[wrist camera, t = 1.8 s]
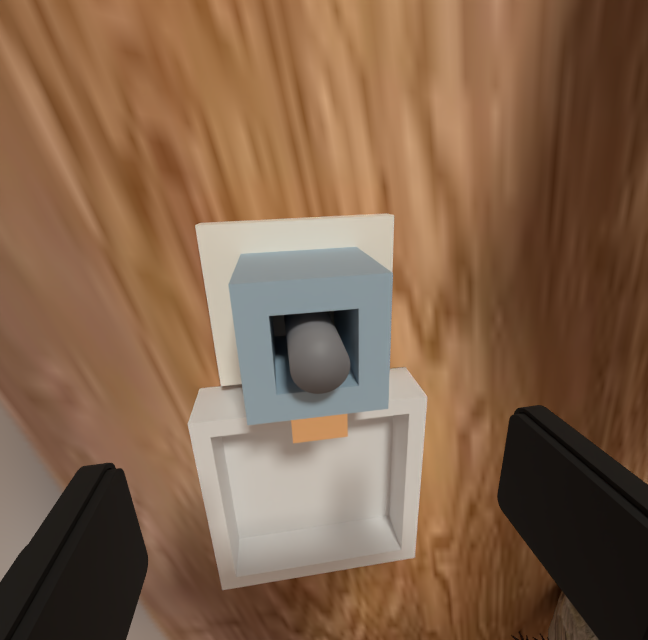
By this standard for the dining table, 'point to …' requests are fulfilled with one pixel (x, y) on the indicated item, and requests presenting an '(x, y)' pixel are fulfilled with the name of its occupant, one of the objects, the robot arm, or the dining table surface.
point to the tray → (308, 487)
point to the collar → (306, 297)
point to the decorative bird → (567, 623)
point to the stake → (300, 329)
